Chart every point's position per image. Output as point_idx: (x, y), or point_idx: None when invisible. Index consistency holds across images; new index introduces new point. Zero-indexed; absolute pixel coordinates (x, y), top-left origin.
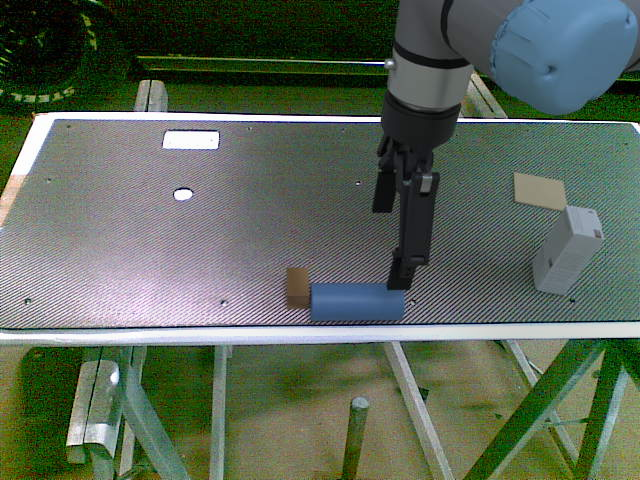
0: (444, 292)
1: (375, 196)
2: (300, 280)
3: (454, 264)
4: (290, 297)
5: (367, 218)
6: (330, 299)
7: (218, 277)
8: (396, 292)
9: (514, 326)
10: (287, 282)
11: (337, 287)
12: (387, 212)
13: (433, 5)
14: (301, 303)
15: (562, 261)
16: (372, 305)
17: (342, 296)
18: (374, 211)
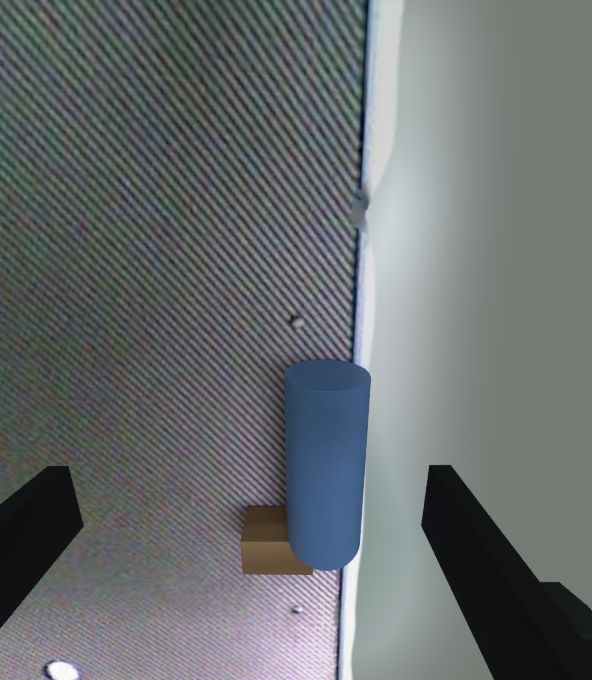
0: (267, 241)
1: (6, 620)
2: (275, 554)
3: (172, 189)
4: None
5: (45, 382)
6: (348, 536)
7: (246, 619)
8: (341, 410)
9: (377, 72)
10: (281, 574)
11: (320, 527)
12: (69, 482)
13: None
14: None
15: None
16: (361, 452)
17: (343, 517)
18: (76, 527)
